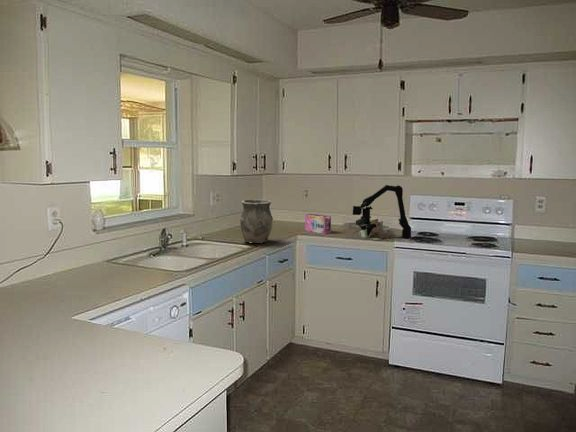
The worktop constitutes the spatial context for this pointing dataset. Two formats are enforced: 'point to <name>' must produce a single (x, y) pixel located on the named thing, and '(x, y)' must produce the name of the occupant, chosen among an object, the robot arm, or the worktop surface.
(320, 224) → the gum box
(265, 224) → the clay pot
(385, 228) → the grey cube
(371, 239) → the slate card
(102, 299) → the worktop surface
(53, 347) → the worktop surface
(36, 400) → the worktop surface
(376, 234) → the walnut base block
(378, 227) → the stack of blocks
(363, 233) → the sage cube
